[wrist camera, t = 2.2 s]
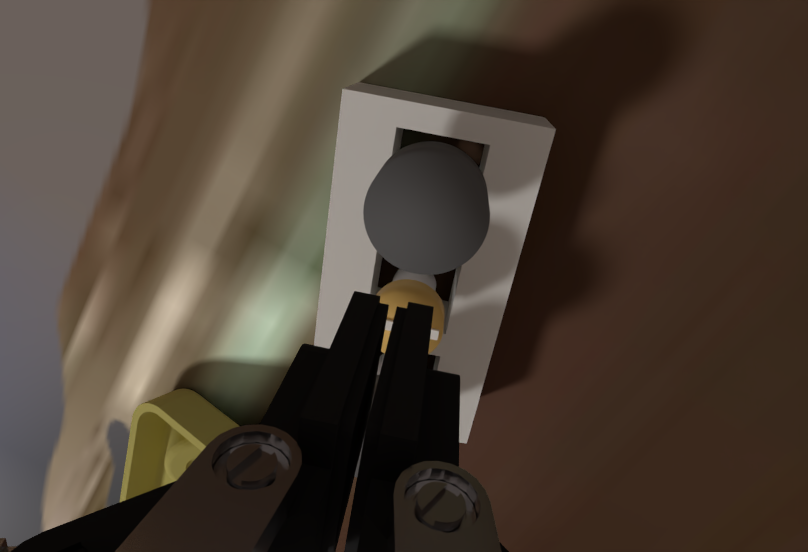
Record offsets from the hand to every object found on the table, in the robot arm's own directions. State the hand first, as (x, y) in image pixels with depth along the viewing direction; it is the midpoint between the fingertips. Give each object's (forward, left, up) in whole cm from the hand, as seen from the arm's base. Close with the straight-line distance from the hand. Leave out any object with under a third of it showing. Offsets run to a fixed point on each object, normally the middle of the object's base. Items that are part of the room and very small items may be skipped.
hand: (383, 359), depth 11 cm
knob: (0, 0, -17) cm, 17 cm away
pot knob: (0, +6, -17) cm, 18 cm away
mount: (0, +6, -20) cm, 21 cm away
